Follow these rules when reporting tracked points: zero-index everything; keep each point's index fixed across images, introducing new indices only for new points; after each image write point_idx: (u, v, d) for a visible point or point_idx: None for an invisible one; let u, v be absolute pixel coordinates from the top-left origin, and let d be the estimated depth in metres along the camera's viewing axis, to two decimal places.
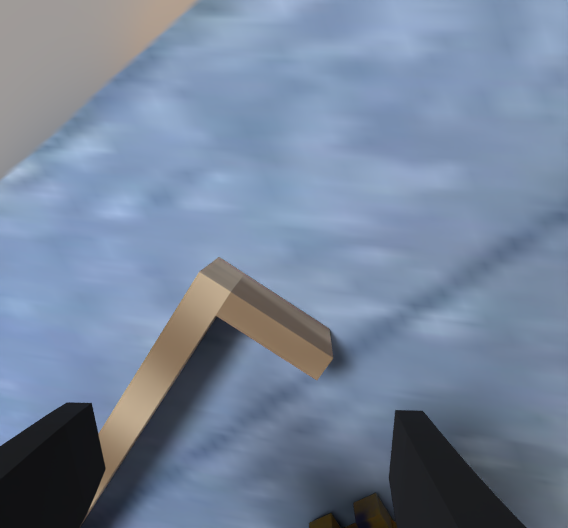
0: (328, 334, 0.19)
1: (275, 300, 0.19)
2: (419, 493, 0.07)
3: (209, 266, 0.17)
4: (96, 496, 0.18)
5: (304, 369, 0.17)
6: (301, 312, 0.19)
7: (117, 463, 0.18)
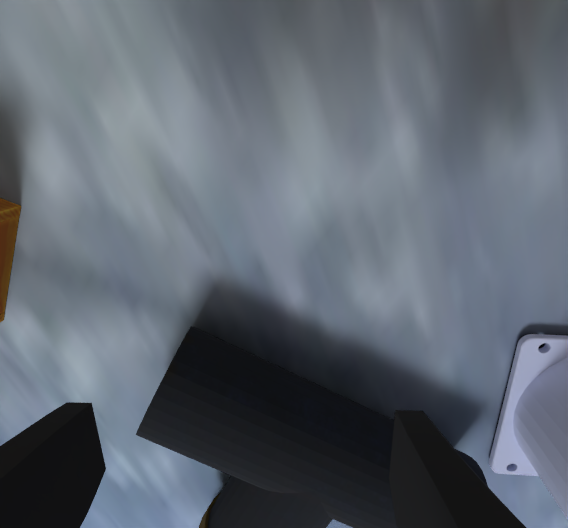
0: None
1: None
2: (419, 493, 0.07)
3: None
4: None
5: None
6: None
7: None
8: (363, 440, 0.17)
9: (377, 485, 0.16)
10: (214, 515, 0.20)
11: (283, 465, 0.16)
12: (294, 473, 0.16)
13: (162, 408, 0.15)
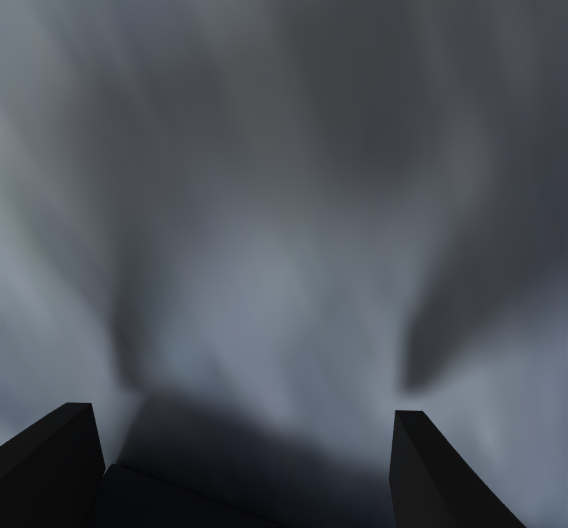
0: None
1: None
2: (420, 493, 0.07)
3: None
4: None
5: None
6: None
7: None
8: None
9: None
10: None
11: None
12: None
13: None
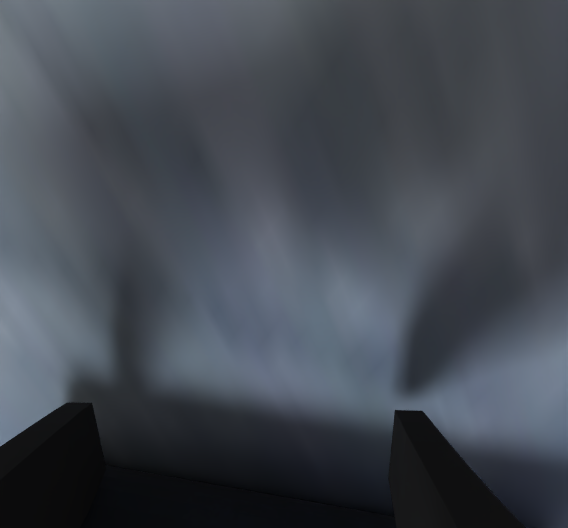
0: None
1: None
2: (419, 493, 0.07)
3: None
4: None
5: None
6: None
7: None
8: None
9: None
10: None
11: None
12: None
13: None
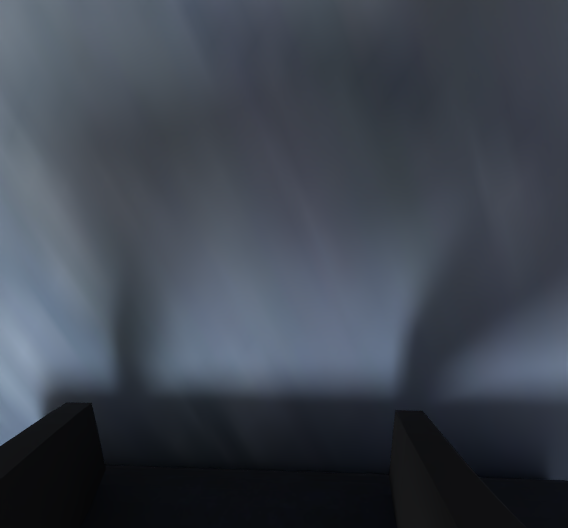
0: None
1: None
2: (420, 493, 0.07)
3: None
4: None
5: None
6: None
7: None
8: None
9: None
10: None
11: None
12: None
13: None
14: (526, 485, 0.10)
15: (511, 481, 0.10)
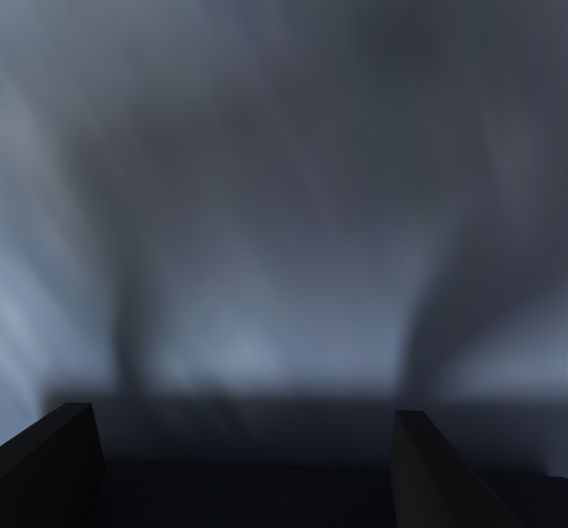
0: None
1: None
2: (419, 493, 0.07)
3: None
4: None
5: None
6: None
7: None
8: None
9: None
10: None
11: None
12: None
13: None
14: (523, 482, 0.10)
15: (508, 477, 0.11)
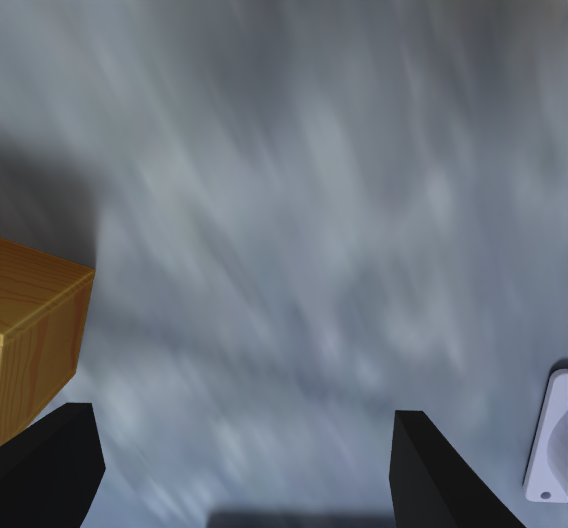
0: None
1: None
2: (419, 493, 0.07)
3: None
4: None
5: None
6: None
7: None
8: None
9: None
10: None
11: None
12: None
13: None
14: None
15: None
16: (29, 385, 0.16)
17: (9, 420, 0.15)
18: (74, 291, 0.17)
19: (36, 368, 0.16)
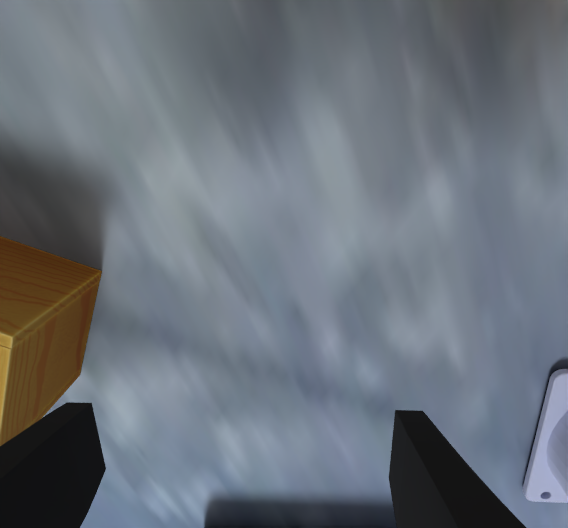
0: None
1: None
2: (419, 493, 0.07)
3: None
4: None
5: None
6: None
7: None
8: None
9: None
10: None
11: None
12: None
13: None
14: None
15: None
16: (36, 386, 0.16)
17: (15, 422, 0.15)
18: (81, 293, 0.17)
19: (43, 369, 0.16)
